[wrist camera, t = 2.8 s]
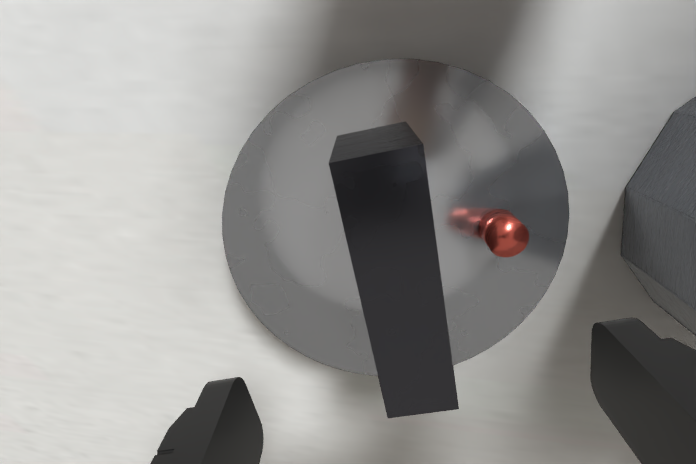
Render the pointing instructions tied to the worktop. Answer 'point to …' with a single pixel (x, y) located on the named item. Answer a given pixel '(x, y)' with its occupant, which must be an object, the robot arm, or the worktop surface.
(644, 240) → the graphite pot
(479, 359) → the worktop surface
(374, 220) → the steel lid
